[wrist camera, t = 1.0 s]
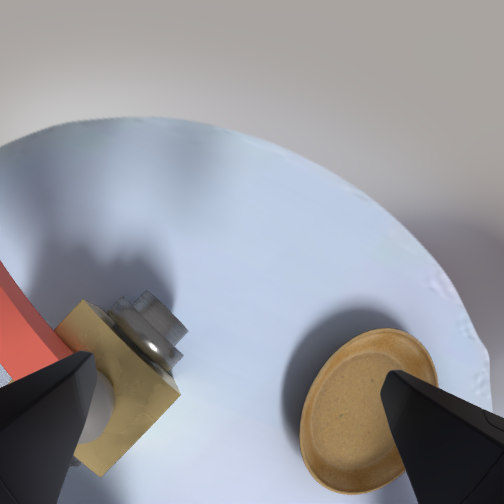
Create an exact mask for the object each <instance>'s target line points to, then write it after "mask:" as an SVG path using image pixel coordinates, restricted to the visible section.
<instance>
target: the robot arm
mask: <svg viewBox="0 0 504 504" xmlns="http://www.w3.org/2000/svg"><path fill="white" fill-rule="evenodd" d="M96 384H97V370H96V363H95V356H94V354H93V353H92V352H88V351H83V350H80V351H78V352H76V353H74V354H72V355H69V356H67V357H65V358H63V359H61V360H59V361H57V362H55V363H53V364H50V365H48V366H46V367H44V368H42V369H40V370H38V371H36V372H33V373H31V374H29V375H27V376H25V377H23V378H21V379H18V380H16V381H14V382H12V383H10V384H8V385H5V386H3V387H1V388H0V504H56V503H57V500H58V497H59V494H60V491H61V488H62V485H63V482H64V479H65V477H66V474H67V471H68V468H69V465H70V463H71V460H72V457H73V455H74V452H75V449H76V447H77V444H78V441H79V439H80V436H81V434H82V431H83V429H84V426H85V423H86V420H87V416H88V413H89V409H90V405H91V401H92V398H93V394H94V391H95V387H96ZM380 397H381V401H382V404H383V408H384V411H385V414H386V418H387V421H388V425H389V428H390V431H391V434H392V437H393V440H394V442H395V445H396V447H397V449H398V452H399V454H400V457H401V459H402V462H403V464H404V467H405V470H406V472H407V475H408V477H409V480H410V482H411V485H412V488H413V490H414V493H415V496H416V498H417V501H418V504H504V418H502V417H500V416H498V415H495V414H493V413H491V412H489V411H486V410H484V409H483V410H482V408H480V407H478V406H475V405H473V404H471V403H469V402H467V401H465V400H463V399H461V398H458V397H456V396H454V395H452V394H450V393H448V392H446V391H444V390H442V389H440V388H437V387H435V386H433V385H431V384H429V383H427V382H425V381H423V380H421V379H419V378H417V377H415V376H413V375H411V374H409V373H407V372H405V371H403V370H390V371H389V372H388V373H387V375H386V378H385V380H384V383H383V386H382V388H381V391H380Z"/></svg>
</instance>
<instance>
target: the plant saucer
mask: <svg viewBox="0 0 504 504" xmlns="http://www.w3.org/2000/svg"><path fill="white" fill-rule="evenodd" d="M390 370H403V371H405V372H407V373H409V374H411V375H413V376H415V377H417V378H419V379H421V380H423V381H425V382H427V383H429V384H431V385H433V386H435V387H437V388H439V385H438V379H437V373H436V370H435V366H434V364H433V361H432V359H431V357H430V355H429V353H428V351H427V350H426V349H425V347H424V346H423V345H422V344H421V343H420V342H419V341H418V340H417V339H416V338H414V337H413V336H412V335H410V334H408V333H406V332H404V331H401V330H398V329H392V328H380V329H374V330H370V331H367V332H364V333H362V334H360V335H358V336H356V337H354V338H352V339H351V340H349V341H348V342H346V343H345V344H344V345H343V346H341V347H340V348H339V349H338V350H337V351H336V352H335V353H334V354H333V355H332V356H331V357H330V358H329V359H328V360H327V361H326V363H325V364H324V365H323V367H322V368H321V370H320V371H319V373H318V374H317V376H316V378H315V379H314V381H313V383H312V385H311V387H310V389H309V392H308V394H307V397H306V400H305V403H304V406H303V410H302V415H301V421H300V448H301V454H302V457H303V461H304V463H305V465H306V467H307V469H308V471H309V472H310V474H311V475H312V477H313V478H314V479H315V480H316V481H317V482H318V483H319V484H321V485H322V486H323V487H325V488H327V489H329V490H331V491H334V492H336V493H341V494H347V495H357V494H363V493H368V492H372V491H375V490H377V489H380V488H382V487H384V486H386V485H387V484H389V483H391V482H392V481H394V480H395V479H397V478H398V477H399V476H400V475H402V474H403V473H404V472H405V471H406V470H405V467H404V464H403V462H402V459H401V457H400V454H399V452H398V449H397V447H396V445H395V442H394V440H393V437H392V434H391V431H390V428H389V425H388V421H387V418H386V414H385V411H384V408H383V404H382V401H381V397H380V391H381V388H382V386H383V383H384V380H385V378H386V375H387V373H388V372H389V371H390Z"/></svg>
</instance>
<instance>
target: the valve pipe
mask: <svg viewBox="0 0 504 504" xmlns="http://www.w3.org/2000/svg"><path fill="white" fill-rule="evenodd" d="M107 314H108V315H109V316H110V317H109V316H108V315H107ZM107 314H106V313H105V312H104V311H103V310H102V308H100V307H98V306H96V305H94V304H92V303H90V302H88V301H86V300H84V299H83V300H82V301H81V302H80V303H79V304H78V305H77V306H76V307H75V308H74V309H73V310H72V311H71V312H70V313H69V314H68V316H67V317H66V318H65V319H64V320H63V321H62V322H61V323H60V324H59V325H58V326H57V328H56V329H55V330H54V332H55V333H56V334H57V336H58V337H59V338H60V339H61V340H62V341H63V342H64V344H65V345H66V346H67V347H68V348H69V349H70V350H71V351H72V352H73V353H76V352H78V351H80V350H83V351H88V352H92V353H93V354H94V356H95V363H96V369H97V370H99V371H100V372H102V373H103V374H104V375H105V376H106V377H107V378H108V380H109V381H110V382H111V384H112V386H113V388H114V392H115V396H116V404H115V409H114V411H113V413H112V415H111V417H110V420H109V422H108V424H107V426H106V428H105V429H104V431H103V433H102V434H101V435H100V436H99V437H98V438H97V439H95V440H94V441H92V442H89V443H85V444H77V447H76V449H75V452H74V455H73V457H72V460H71V463H70V465H71V466H78V465H80V464H81V463H83V464H84V465H85V466H87V467H88V468H89V469H90V470H92V471H93V472H94V473H95V474H97V475H98V476H99V477H100V478H101V477H102V476H103V475H104V474H105V473H106V472H107V471H108V470H109V469H110V468H111V467H112V466H113V465H114V464H115V463H116V462H117V461H118V460H119V459H120V458H121V457H122V456H123V455H124V454H125V453H126V452H127V451H128V450H129V449H130V448H131V447H132V446H133V445H134V444H135V442H136V441H137V440H138V439H139V438H140V437H141V436H142V435H143V434H144V433H145V432H146V431H147V430H148V429H149V428H150V427H151V426H152V425H153V424H154V423H155V422H156V421H157V420H158V419H159V418H160V417H161V415H162V414H163V413H164V412H165V411H166V410H167V409H168V408H169V407H170V406H171V405H172V404H173V403H174V402H175V401H176V400H177V398H178V397H179V396H180V395H181V394H180V392H179V389H178V387H177V385H176V383H175V380H174V379H173V378H172V377H171V376H170V375H169V374H168V373H167V372H169V371H170V370H171V369H172V368H173V367H174V366H175V365H176V363H177V362H178V361H179V360H180V359H181V358H182V357H183V356H184V355H183V354H182V353H181V352H179V351H178V350H177V349H176V348H175V347H174V346H175V345H176V344H177V343H178V342H179V341H180V340H181V339H182V338H183V337H184V335H185V334H186V333H187V332H188V330H187V329H186V328H185V326H184V325H183V324H182V323H181V322H180V321H179V320H178V319H177V318H176V317H175V316H174V315H173V314H172V313H171V312H170V311H169V310H168V309H167V308H166V307H165V306H164V305H163V304H162V303H161V302H160V301H159V300H158V299H156V298H155V297H154V296H153V295H152V294H151V293H149V292H148V291H145V292H144V293H143V294H142V295H141V296H140V297H139V298H138V299H137V300H136V301H135V302H134V304H133V305H131V304H130V303H129V302H128V301H127V300H126V299H125V298H124V297H123V296H122V297H121V298H120V299H119V300H118V301H117V302H116V303H115V304H114V305H113V306H112V307H111V308H110V309H109V310H108V311H107ZM162 368H163V369H164V370H166V371H167V372H166V371H164V370H163V369H162ZM12 382H14V380H13V379H12V380H11V381H10V382H9V384H10V383H12Z"/></svg>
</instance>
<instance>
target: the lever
mask: <svg viewBox="0 0 504 504" xmlns="http://www.w3.org/2000/svg"><path fill="white" fill-rule="evenodd" d="M72 354H74V353H73V352H72V351H71V350H70V349H69V348H68V347H67V346H66V345H65V344H64V342H63V341H62V340H61V339H60V338H59V337H58V336H57V334H56V333H55V332H54V331H53V330H52V329H51V327H50V326H49V325H48V324H47V323H46V321H45V320H44V319H43V318H42V317H41V315H40V314H39V313H38V312H37V310H36V309H35V308H34V307H33V305H32V304H31V303H30V301H29V300H28V299H27V297H26V296H25V295H24V293H23V292H22V291H21V289H20V288H19V287H18V285H17V284H16V282H15V281H14V280H13V278H12V277H11V275H10V274H9V272H8V271H7V270H6V268H5V267H4V265H3V264H2V262H1V261H0V364H1V365H2V366H3V367H4V369H5V370H6V371H7V372H8V374H9V375H10V376H11V377H12V379H13V380H14V381H16V380H18V379H21V378H23V377H25V376H27V375H29V374H31V373H33V372H36V371H38V370H40V369H42V368H44V367H46V366H48V365H50V364H53V363H55V362H57V361H59V360H61V359H63V358H65V357H67V356H69V355H72ZM96 370H97V369H96ZM115 404H116V396H115V392H114V388H113V386H112V384H111V382H110V381H109V380H108V378H107V377H106V376H105V375H104V374H103V373H102V372H100V371H99V370H97V384H96V387H95V391H94V394H93V398H92V401H91V405H90V409H89V413H88V416H87V420H86V423H85V426H84V429H83V431H82V434H81V436H80V439H79V441H78V444H85V443H89V442H92V441H94V440H95V439H97V438H98V437H99V436H100V435H101V434H102V433H103V431H104V429H105V428H106V426H107V424H108V422H109V420H110V417H111V415H112V413H113V411H114V409H115Z"/></svg>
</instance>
